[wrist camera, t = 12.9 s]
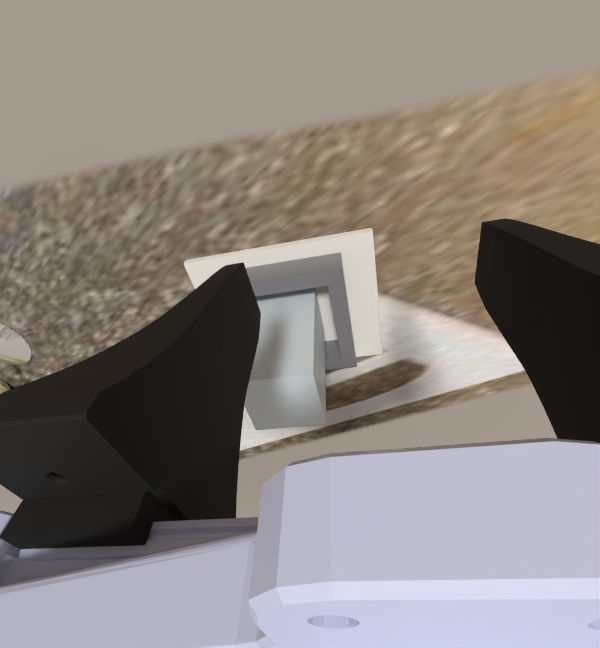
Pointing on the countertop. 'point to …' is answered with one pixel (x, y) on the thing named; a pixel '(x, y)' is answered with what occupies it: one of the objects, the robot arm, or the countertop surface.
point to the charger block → (288, 363)
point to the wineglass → (13, 347)
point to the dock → (317, 286)
